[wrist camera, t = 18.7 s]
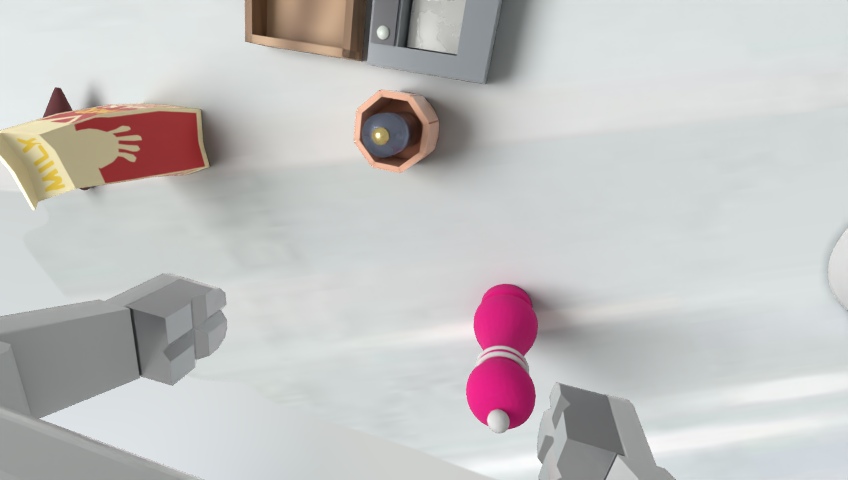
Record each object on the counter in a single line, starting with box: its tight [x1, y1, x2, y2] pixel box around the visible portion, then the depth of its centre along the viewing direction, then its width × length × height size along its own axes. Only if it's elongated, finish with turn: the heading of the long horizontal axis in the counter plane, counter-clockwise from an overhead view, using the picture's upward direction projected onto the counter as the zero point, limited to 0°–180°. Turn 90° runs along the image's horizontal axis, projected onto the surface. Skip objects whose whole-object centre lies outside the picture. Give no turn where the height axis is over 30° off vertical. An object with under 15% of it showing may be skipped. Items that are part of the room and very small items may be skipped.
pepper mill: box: [466, 284, 538, 433], centre depth 40 cm, size 7×7×20 cm
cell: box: [362, 111, 422, 157], centre depth 40 cm, size 4×4×9 cm
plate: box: [407, 0, 466, 55], centre depth 39 cm, size 5×5×1 cm
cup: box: [354, 90, 439, 173], centre depth 42 cm, size 8×8×6 cm
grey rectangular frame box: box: [367, 0, 503, 84], centre depth 38 cm, size 12×10×4 cm
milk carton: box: [0, 103, 210, 210], centre depth 43 cm, size 9×9×20 cm
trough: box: [245, 0, 367, 61], centre depth 41 cm, size 12×8×3 cm, turn 81°
